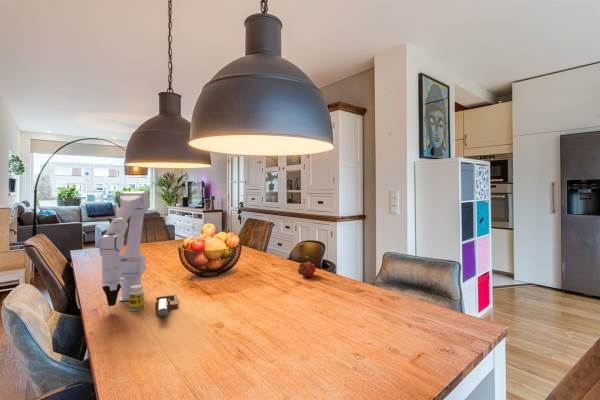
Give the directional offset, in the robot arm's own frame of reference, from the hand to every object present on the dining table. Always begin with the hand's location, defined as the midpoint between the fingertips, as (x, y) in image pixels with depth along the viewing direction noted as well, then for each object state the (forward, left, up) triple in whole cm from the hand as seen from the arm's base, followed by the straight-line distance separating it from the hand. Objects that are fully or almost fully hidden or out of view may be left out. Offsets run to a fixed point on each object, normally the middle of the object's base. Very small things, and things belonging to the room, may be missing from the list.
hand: (111, 305), depth 110 cm
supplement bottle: (0, +8, -3) cm, 8 cm away
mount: (+1, +18, -2) cm, 18 cm away
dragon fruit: (-14, +85, -3) cm, 86 cm away
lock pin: (+12, +17, -1) cm, 21 cm away
